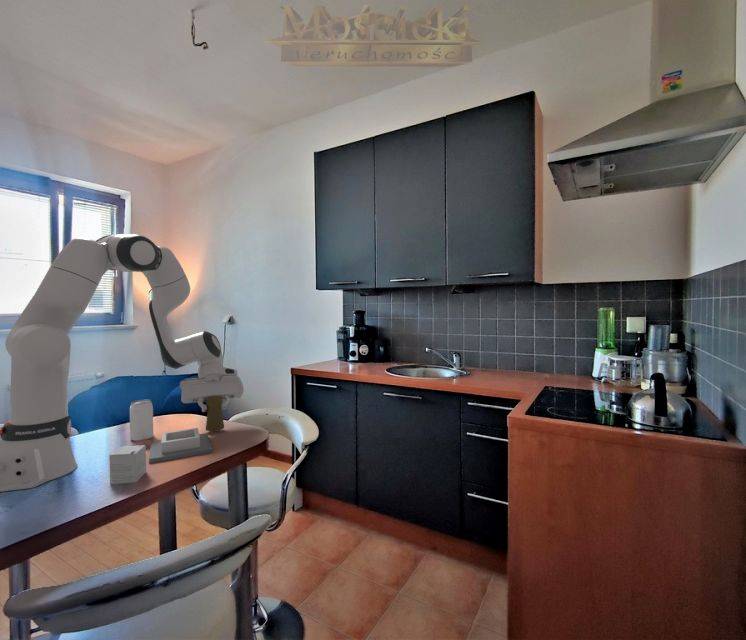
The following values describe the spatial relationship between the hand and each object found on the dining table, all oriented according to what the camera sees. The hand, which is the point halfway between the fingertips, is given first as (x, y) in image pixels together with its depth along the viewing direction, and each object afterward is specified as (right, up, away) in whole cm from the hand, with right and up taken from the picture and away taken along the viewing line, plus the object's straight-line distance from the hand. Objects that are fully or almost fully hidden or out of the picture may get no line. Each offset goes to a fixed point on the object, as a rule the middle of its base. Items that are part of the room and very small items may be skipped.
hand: (214, 409), depth 130 cm
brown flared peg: (0, -7, +1) cm, 7 cm away
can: (-22, -8, -5) cm, 24 cm away
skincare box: (-7, -9, -35) cm, 36 cm away
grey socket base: (-4, -8, -15) cm, 17 cm away
